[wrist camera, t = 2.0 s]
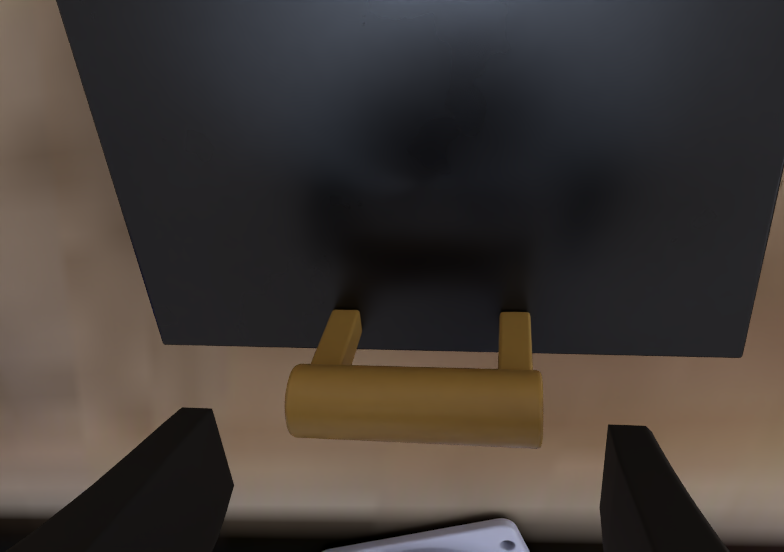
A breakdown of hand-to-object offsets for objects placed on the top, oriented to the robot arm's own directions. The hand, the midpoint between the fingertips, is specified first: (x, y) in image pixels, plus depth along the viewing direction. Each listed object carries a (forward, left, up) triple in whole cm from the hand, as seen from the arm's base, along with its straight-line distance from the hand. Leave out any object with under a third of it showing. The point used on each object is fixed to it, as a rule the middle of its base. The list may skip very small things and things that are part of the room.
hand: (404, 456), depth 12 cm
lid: (+3, -1, -5) cm, 6 cm away
